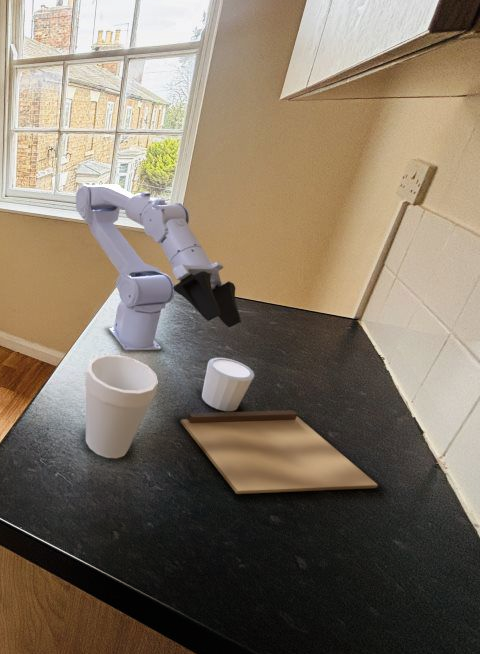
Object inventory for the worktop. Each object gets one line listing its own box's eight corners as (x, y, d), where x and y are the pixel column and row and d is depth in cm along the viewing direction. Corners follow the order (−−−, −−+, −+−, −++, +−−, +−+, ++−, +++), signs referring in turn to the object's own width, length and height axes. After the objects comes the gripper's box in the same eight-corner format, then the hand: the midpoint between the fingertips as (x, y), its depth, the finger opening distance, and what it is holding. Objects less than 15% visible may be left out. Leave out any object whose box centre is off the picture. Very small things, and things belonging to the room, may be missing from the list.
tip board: (180, 422, 66) (182, 413, 66) (295, 418, 68) (299, 409, 67) (236, 494, 54) (240, 484, 53) (376, 488, 55) (382, 478, 54)
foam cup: (151, 462, 58) (172, 390, 53) (91, 470, 57) (106, 396, 51) (119, 418, 67) (133, 352, 61) (66, 424, 65) (76, 356, 60)
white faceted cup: (248, 416, 68) (262, 382, 65) (204, 410, 69) (216, 376, 66) (233, 391, 74) (244, 359, 71) (193, 386, 75) (202, 354, 72)
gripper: (186, 231, 66) (228, 300, 59) (225, 253, 75) (267, 315, 68) (150, 257, 71) (185, 323, 64) (190, 274, 79) (226, 335, 72)
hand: (224, 321), depth 66 cm, fingers open, 7 cm apart
